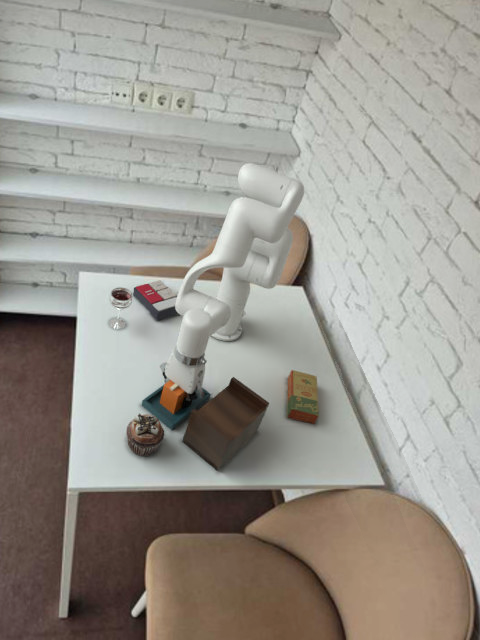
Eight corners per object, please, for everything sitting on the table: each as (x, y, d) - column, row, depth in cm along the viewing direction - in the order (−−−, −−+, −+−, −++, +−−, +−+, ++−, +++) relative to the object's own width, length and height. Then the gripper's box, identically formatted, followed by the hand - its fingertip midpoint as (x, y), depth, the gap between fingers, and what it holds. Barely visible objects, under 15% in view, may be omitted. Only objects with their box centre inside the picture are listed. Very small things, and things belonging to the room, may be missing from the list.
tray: (180, 376, 157) (181, 371, 156) (209, 398, 153) (211, 394, 152) (141, 405, 146) (142, 400, 145) (171, 430, 142) (172, 425, 141)
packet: (178, 388, 153) (184, 367, 148) (192, 398, 151) (198, 378, 146) (159, 403, 147) (164, 382, 142) (173, 414, 145) (178, 393, 140)
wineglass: (132, 323, 171) (137, 294, 163) (119, 334, 166) (123, 304, 158) (115, 313, 173) (119, 284, 165) (102, 323, 168) (105, 294, 161)
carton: (312, 385, 165) (317, 375, 163) (314, 425, 153) (320, 415, 150) (286, 378, 165) (291, 369, 163) (286, 418, 153) (291, 408, 150)
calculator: (160, 278, 186) (185, 302, 177) (159, 288, 188) (183, 312, 180) (133, 285, 180) (158, 310, 171) (132, 295, 182) (156, 321, 174)
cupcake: (165, 456, 135) (172, 432, 129) (128, 462, 132) (133, 437, 126) (156, 426, 142) (162, 401, 136) (120, 430, 139) (125, 405, 132)
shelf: (222, 406, 152) (233, 376, 144) (256, 432, 147) (269, 402, 139) (182, 441, 140) (191, 411, 132) (217, 471, 135) (229, 441, 127)
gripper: (224, 364, 136) (208, 410, 148) (173, 328, 143) (163, 375, 155) (206, 378, 131) (191, 424, 143) (155, 340, 138) (145, 387, 150)
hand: (177, 398), depth 149 cm, fingers open, 5 cm apart
